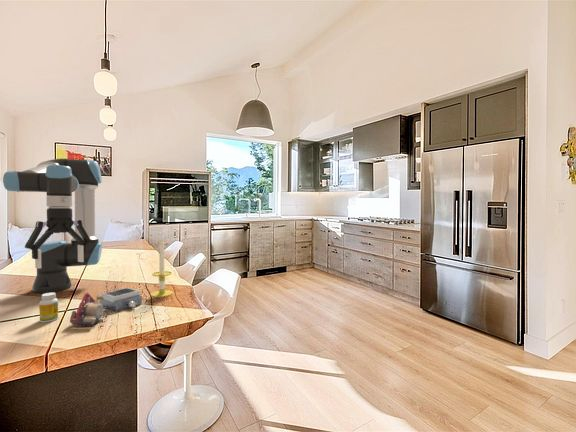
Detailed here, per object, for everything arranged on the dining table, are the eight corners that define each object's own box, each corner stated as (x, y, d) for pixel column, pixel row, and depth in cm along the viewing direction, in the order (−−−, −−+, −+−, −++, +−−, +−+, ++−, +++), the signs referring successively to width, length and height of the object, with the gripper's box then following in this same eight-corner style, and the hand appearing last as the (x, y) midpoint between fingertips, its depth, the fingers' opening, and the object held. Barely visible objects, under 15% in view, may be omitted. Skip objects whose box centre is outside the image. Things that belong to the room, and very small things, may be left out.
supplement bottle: (42, 318, 110) (41, 292, 110) (60, 316, 113) (59, 291, 112) (37, 323, 105) (37, 297, 105) (56, 321, 108) (55, 295, 107)
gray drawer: (99, 306, 124) (99, 293, 124) (125, 298, 133) (125, 286, 133) (120, 313, 116) (119, 299, 116) (146, 305, 126) (146, 292, 126)
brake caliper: (77, 310, 112) (97, 285, 112) (101, 328, 113) (121, 303, 113) (55, 323, 101) (77, 295, 101) (82, 342, 101) (104, 314, 101)
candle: (146, 293, 141) (146, 237, 140) (167, 289, 149) (167, 235, 147) (156, 298, 134) (155, 239, 133) (177, 294, 142) (176, 237, 141)
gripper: (21, 207, 98) (22, 272, 98) (100, 207, 119) (101, 260, 120) (11, 207, 101) (13, 269, 102) (90, 207, 123) (90, 258, 124)
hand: (60, 264), depth 111 cm, fingers open, 13 cm apart
